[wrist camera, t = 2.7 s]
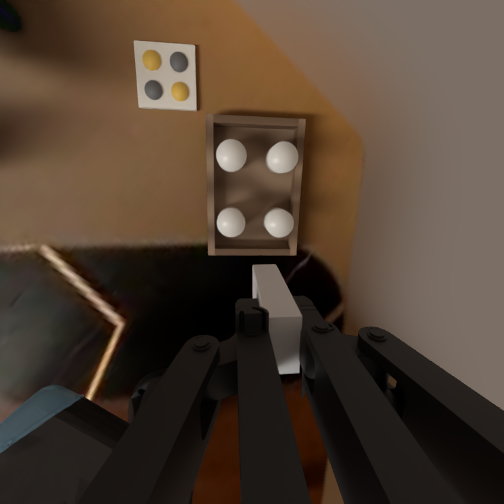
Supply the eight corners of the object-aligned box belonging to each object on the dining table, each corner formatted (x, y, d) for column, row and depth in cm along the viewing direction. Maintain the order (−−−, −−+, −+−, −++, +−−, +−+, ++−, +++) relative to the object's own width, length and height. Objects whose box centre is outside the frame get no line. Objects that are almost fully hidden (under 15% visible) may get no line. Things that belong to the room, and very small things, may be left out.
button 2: (290, 174, 39) (297, 173, 35) (264, 173, 39) (268, 172, 35) (292, 146, 38) (299, 141, 34) (265, 144, 38) (269, 140, 34)
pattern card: (196, 111, 38) (196, 109, 37) (140, 108, 37) (138, 106, 36) (195, 47, 36) (194, 44, 35) (135, 42, 35) (133, 39, 34)
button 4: (244, 172, 39) (246, 171, 35) (217, 172, 38) (216, 170, 34) (244, 144, 38) (246, 139, 34) (217, 143, 37) (216, 138, 33)
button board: (291, 250, 45) (296, 255, 42) (209, 250, 43) (208, 255, 40) (300, 123, 39) (305, 119, 37) (207, 119, 38) (205, 113, 35)
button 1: (286, 232, 42) (292, 237, 38) (262, 232, 41) (265, 237, 37) (288, 207, 41) (294, 210, 37) (263, 207, 40) (266, 209, 36)
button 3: (243, 232, 41) (245, 237, 37) (217, 231, 41) (216, 237, 37) (243, 206, 40) (245, 209, 36) (217, 206, 40) (216, 208, 36)
